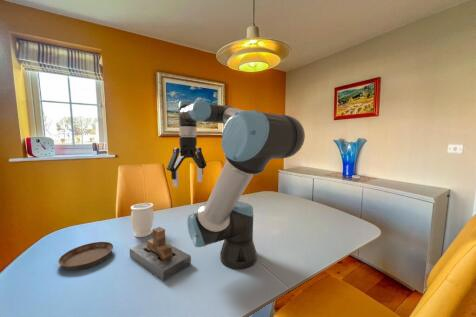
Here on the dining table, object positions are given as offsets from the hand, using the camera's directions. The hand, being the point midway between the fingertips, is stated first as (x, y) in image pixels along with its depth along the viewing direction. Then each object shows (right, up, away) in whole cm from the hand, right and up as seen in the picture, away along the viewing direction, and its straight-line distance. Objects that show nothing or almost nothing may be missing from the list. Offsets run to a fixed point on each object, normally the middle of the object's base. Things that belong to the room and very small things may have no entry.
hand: (188, 184), depth 90 cm
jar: (-27, -28, +13) cm, 41 cm away
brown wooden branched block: (-9, -30, -10) cm, 32 cm away
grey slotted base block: (-9, -30, -10) cm, 32 cm away
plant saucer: (-39, -30, -9) cm, 50 cm away
